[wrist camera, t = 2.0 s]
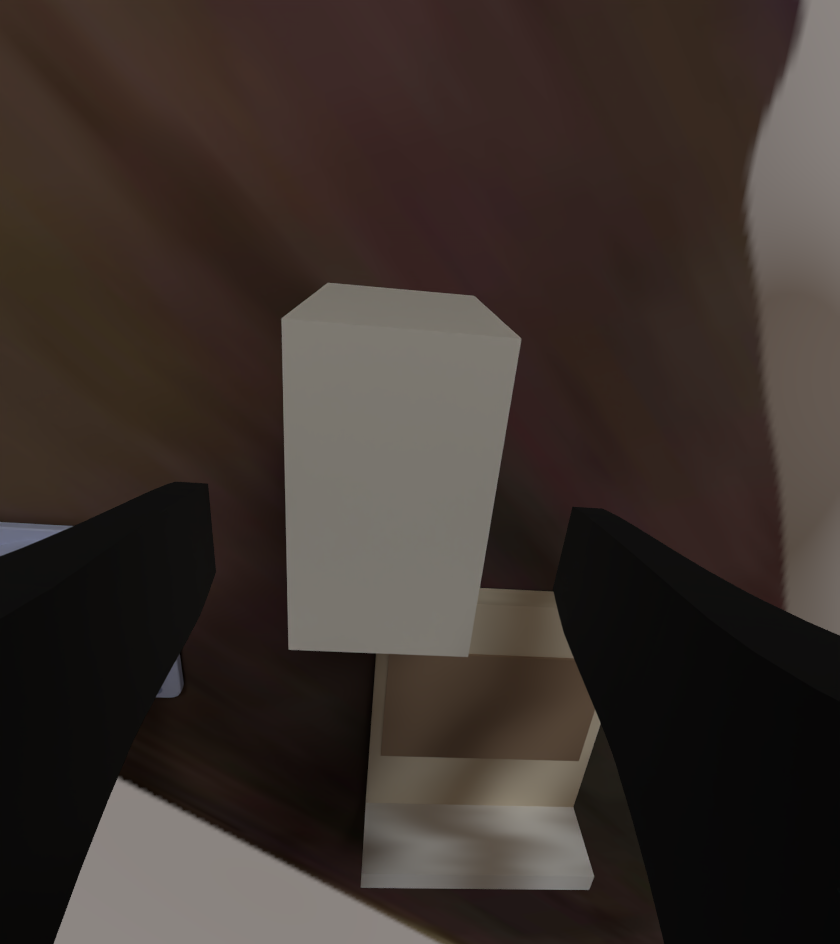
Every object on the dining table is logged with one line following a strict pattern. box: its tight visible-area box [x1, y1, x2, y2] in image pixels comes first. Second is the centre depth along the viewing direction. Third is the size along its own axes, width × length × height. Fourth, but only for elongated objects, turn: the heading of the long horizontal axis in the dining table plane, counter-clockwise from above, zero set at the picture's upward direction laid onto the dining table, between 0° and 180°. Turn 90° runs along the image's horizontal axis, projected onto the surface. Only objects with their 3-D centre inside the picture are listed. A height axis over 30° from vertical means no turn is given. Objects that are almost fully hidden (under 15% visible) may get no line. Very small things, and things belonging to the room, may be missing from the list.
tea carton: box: [282, 283, 521, 657], centre depth 15 cm, size 5×8×7 cm, turn 175°
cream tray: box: [361, 588, 601, 890], centre depth 22 cm, size 10×13×4 cm
